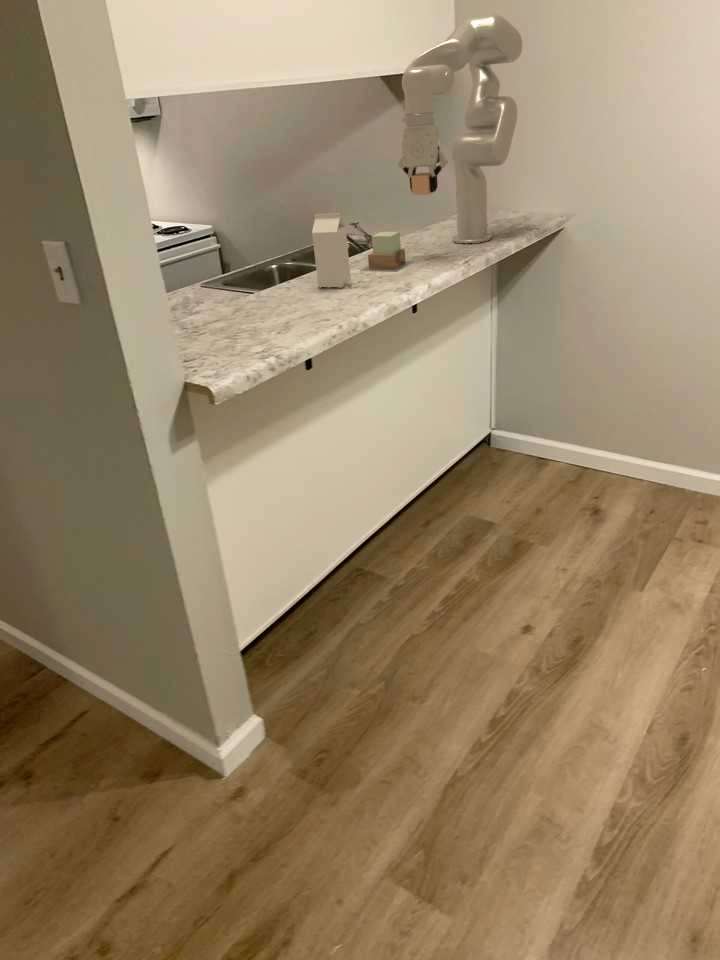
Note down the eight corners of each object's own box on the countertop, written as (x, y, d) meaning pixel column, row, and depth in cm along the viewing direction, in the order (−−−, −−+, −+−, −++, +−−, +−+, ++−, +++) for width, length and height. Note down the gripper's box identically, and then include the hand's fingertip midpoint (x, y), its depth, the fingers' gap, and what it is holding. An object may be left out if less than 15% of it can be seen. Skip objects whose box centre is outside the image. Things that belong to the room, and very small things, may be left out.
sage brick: (382, 249, 216) (381, 231, 213) (400, 249, 213) (399, 231, 211) (373, 254, 211) (371, 236, 209) (391, 254, 209) (390, 236, 206)
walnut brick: (381, 262, 219) (380, 248, 217) (405, 262, 215) (404, 248, 213) (369, 268, 213) (367, 254, 211) (393, 269, 209) (392, 255, 207)
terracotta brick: (419, 191, 210) (418, 172, 208) (435, 191, 208) (434, 172, 206) (412, 194, 207) (411, 176, 204) (428, 194, 204) (427, 175, 202)
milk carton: (342, 288, 200) (335, 216, 190) (318, 288, 202) (309, 216, 193) (351, 281, 205) (344, 210, 196) (327, 281, 208) (319, 211, 198)
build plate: (378, 262, 222) (378, 260, 221) (414, 263, 216) (414, 261, 216) (360, 273, 213) (359, 270, 212) (397, 274, 207) (397, 271, 207)
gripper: (385, 124, 199) (391, 194, 208) (444, 120, 191) (447, 193, 201) (397, 120, 205) (402, 189, 214) (454, 116, 197) (457, 188, 206)
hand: (424, 190), depth 207 cm, fingers closed on terracotta brick, 5 cm apart
